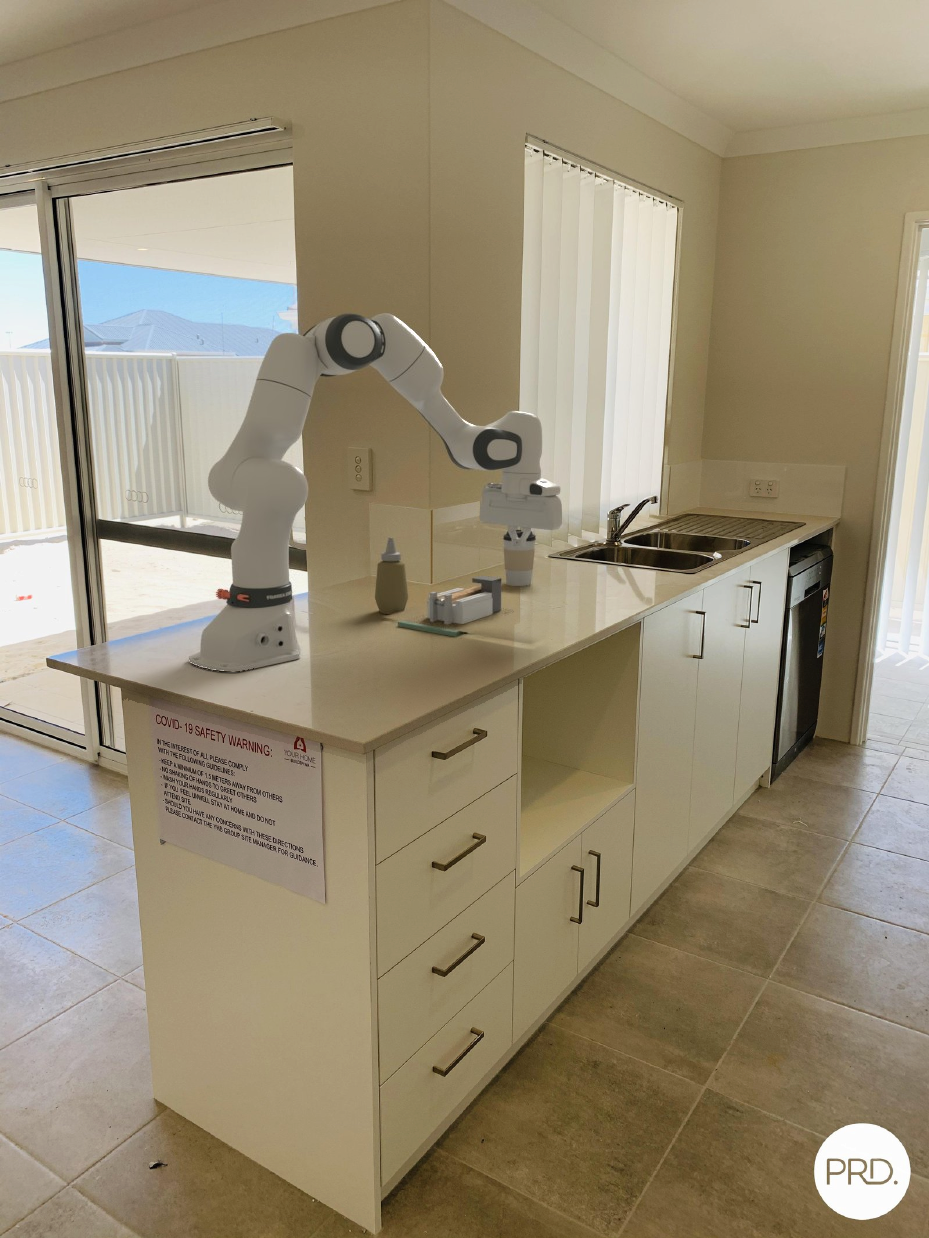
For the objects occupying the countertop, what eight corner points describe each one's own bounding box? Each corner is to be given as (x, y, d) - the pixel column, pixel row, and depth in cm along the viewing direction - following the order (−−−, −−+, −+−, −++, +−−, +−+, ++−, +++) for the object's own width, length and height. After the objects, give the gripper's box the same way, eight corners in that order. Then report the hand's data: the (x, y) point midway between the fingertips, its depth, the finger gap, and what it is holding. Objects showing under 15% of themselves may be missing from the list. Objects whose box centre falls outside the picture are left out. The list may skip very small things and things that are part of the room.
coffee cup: (496, 581, 263) (497, 528, 259) (525, 579, 266) (526, 526, 263) (511, 587, 255) (512, 533, 251) (540, 585, 258) (542, 531, 255)
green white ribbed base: (455, 636, 203) (455, 602, 201) (397, 626, 212) (397, 593, 210) (518, 614, 224) (519, 583, 222) (464, 605, 233) (464, 575, 231)
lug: (491, 613, 220) (492, 580, 219) (472, 610, 224) (472, 578, 222) (500, 610, 224) (501, 578, 222) (481, 607, 227) (481, 575, 225)
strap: (443, 606, 210) (443, 600, 209) (434, 605, 211) (434, 599, 211) (486, 592, 223) (486, 586, 223) (477, 591, 224) (477, 585, 224)
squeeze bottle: (368, 613, 224) (367, 538, 220) (386, 607, 231) (385, 534, 227) (397, 617, 220) (396, 541, 216) (414, 610, 227) (414, 536, 223)
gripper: (475, 482, 215) (473, 542, 218) (552, 489, 203) (549, 552, 206) (490, 481, 220) (488, 540, 223) (566, 487, 208) (563, 549, 211)
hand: (518, 546), depth 214 cm, fingers closed
